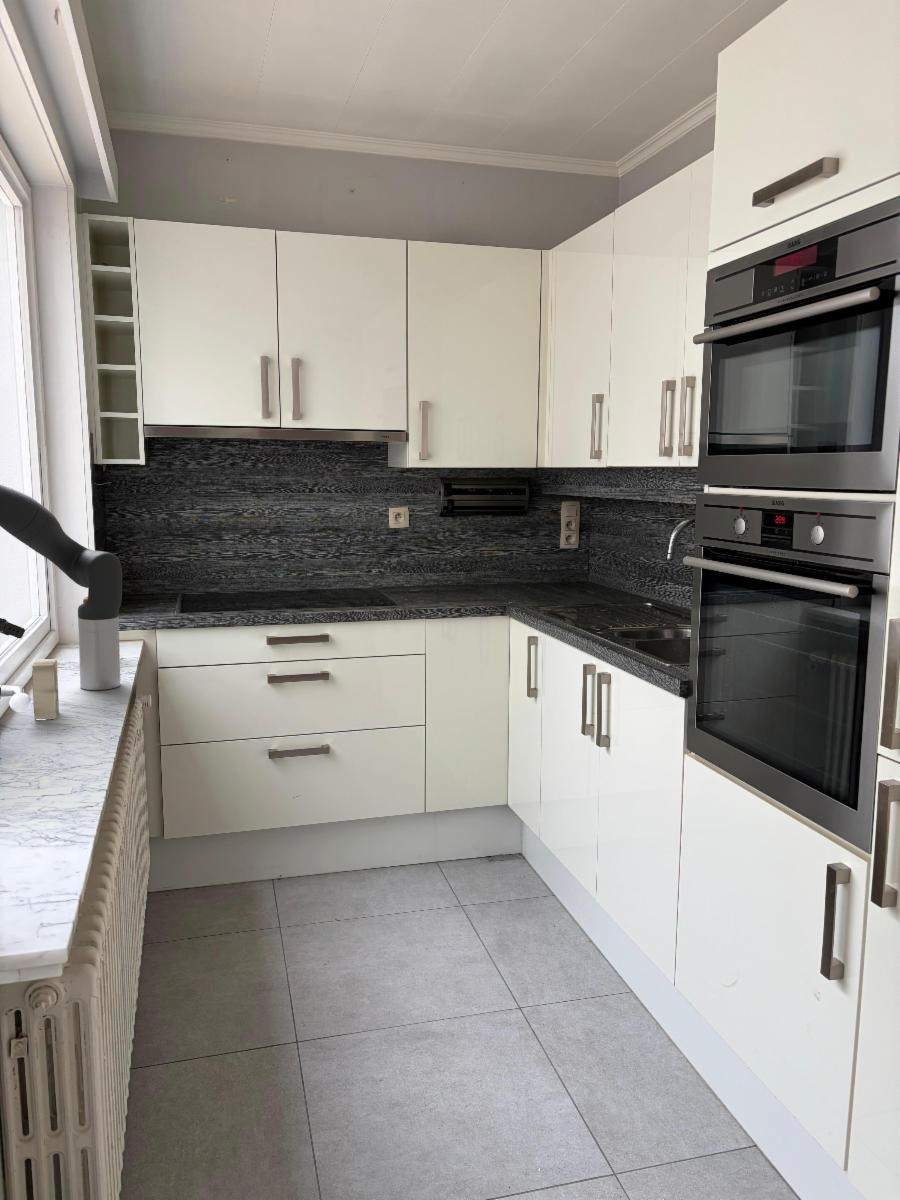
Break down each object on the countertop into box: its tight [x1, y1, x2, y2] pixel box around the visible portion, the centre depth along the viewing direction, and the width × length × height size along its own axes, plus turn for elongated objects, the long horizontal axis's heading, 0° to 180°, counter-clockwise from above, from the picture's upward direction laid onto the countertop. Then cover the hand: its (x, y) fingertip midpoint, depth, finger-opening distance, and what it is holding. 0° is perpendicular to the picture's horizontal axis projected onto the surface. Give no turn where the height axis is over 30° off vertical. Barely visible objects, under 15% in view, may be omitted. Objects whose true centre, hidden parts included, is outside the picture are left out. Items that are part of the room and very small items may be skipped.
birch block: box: [31, 658, 60, 720], centre depth 198 cm, size 6×4×12 cm
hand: (17, 632), depth 189 cm, fingers open, 8 cm apart
